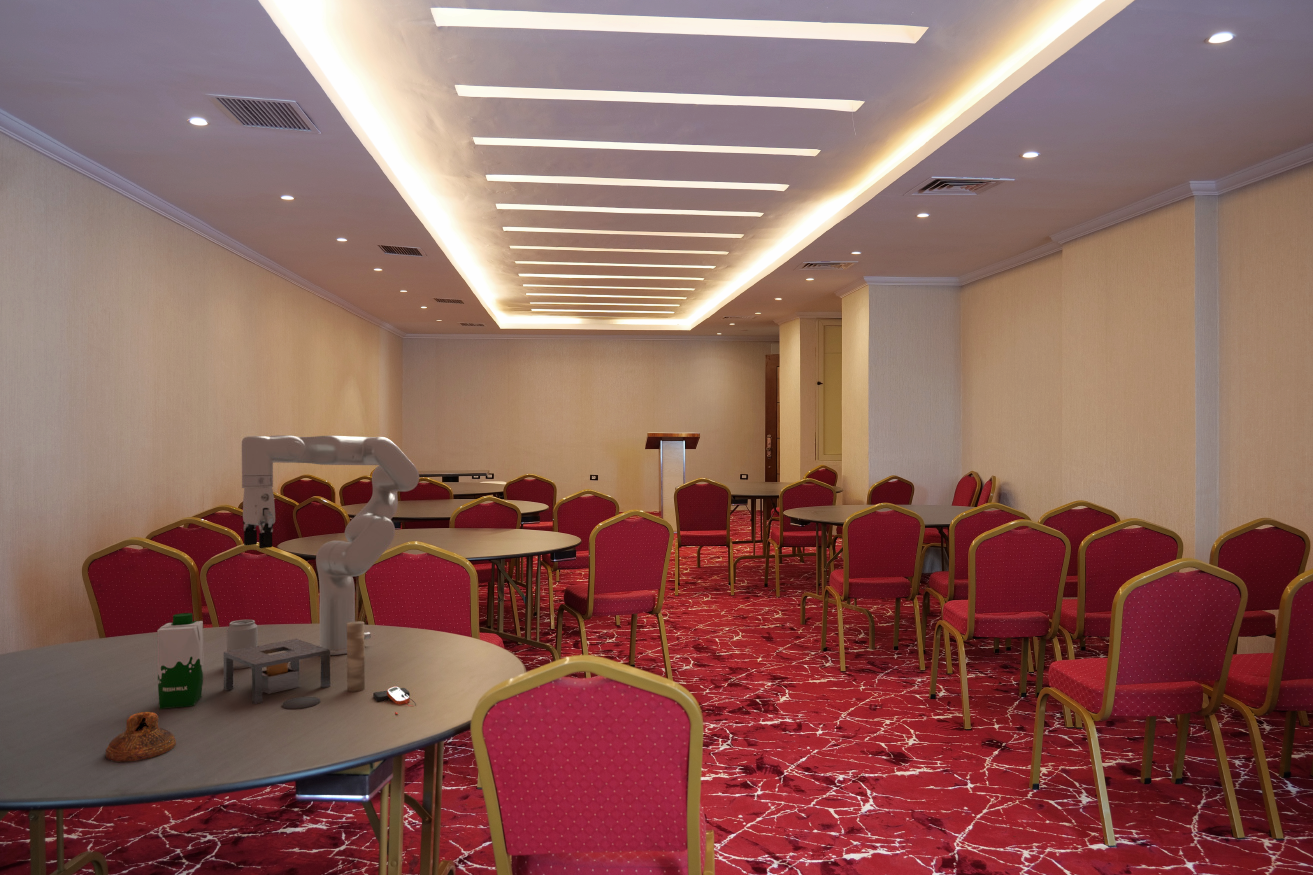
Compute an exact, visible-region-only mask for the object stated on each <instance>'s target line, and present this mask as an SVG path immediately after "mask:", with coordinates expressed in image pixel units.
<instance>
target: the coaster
mask: <svg viewBox="0 0 1313 875" xmlns="http://www.w3.org/2000/svg"><path fill="white" fill-rule="evenodd" d="M320 703H321V699H320V697H316V696H299V697H293V698H290V699H287V700H285V701H283V702H282V703H281V707H283V709H286V710H301V709H306V708H311V707H315V706H316V705H318V704H320Z"/></svg>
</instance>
